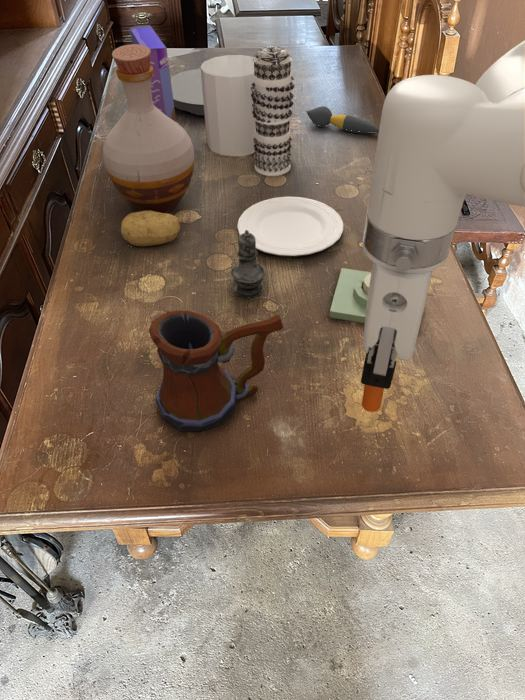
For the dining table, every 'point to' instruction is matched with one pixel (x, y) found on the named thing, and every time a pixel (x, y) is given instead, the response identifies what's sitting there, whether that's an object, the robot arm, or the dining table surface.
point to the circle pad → (366, 284)
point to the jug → (146, 141)
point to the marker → (372, 396)
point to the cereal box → (157, 68)
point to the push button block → (350, 296)
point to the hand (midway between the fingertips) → (377, 373)
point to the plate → (291, 226)
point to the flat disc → (188, 91)
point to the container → (229, 104)
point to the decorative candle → (272, 110)
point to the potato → (149, 228)
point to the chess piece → (248, 268)
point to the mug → (203, 367)
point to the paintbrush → (340, 121)
